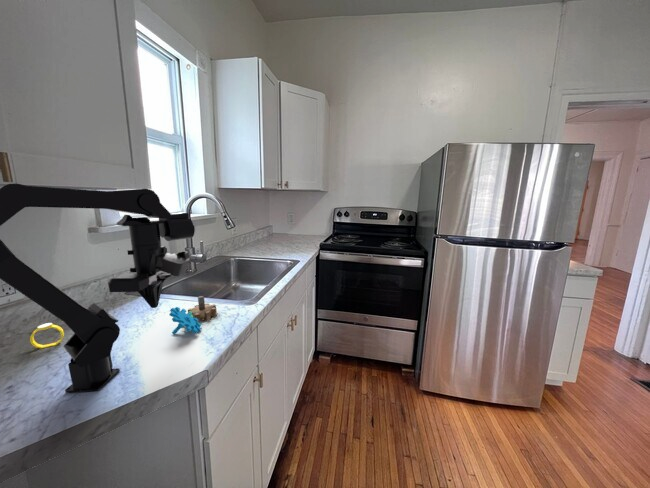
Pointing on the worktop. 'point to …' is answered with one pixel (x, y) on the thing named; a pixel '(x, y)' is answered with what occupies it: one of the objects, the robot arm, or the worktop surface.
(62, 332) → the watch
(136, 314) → the worktop surface
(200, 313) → the gear
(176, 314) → the gear
